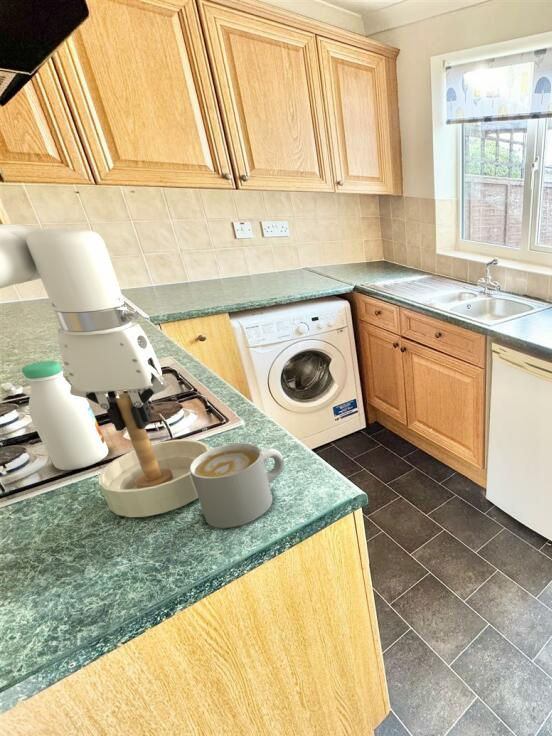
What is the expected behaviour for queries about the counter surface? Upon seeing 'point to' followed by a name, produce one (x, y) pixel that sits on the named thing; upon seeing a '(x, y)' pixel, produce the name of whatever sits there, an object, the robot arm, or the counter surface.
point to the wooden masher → (142, 448)
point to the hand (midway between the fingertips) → (134, 425)
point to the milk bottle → (63, 418)
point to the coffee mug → (234, 483)
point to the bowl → (155, 499)
